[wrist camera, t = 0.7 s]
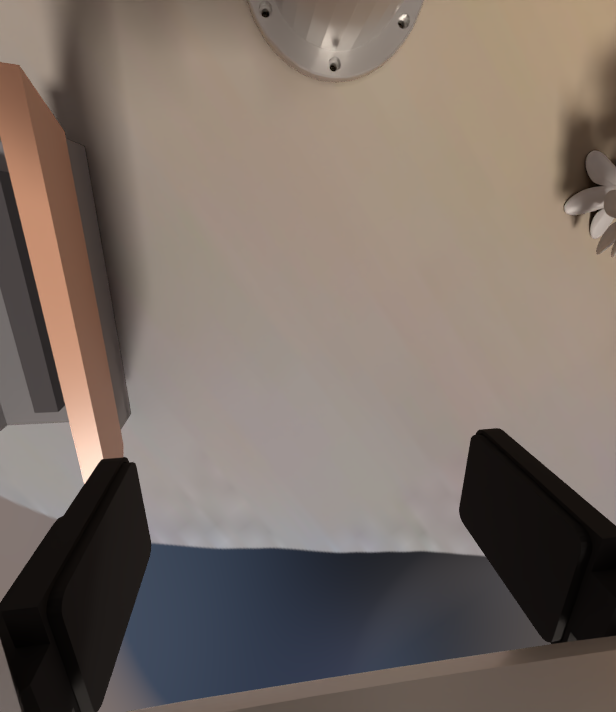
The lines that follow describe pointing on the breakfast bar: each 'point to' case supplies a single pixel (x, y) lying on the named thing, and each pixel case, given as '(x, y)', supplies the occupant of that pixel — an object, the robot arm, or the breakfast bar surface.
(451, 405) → the breakfast bar surface
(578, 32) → the breakfast bar surface
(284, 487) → the breakfast bar surface
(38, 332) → the grey plastic bar
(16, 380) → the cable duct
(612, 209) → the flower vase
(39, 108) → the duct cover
